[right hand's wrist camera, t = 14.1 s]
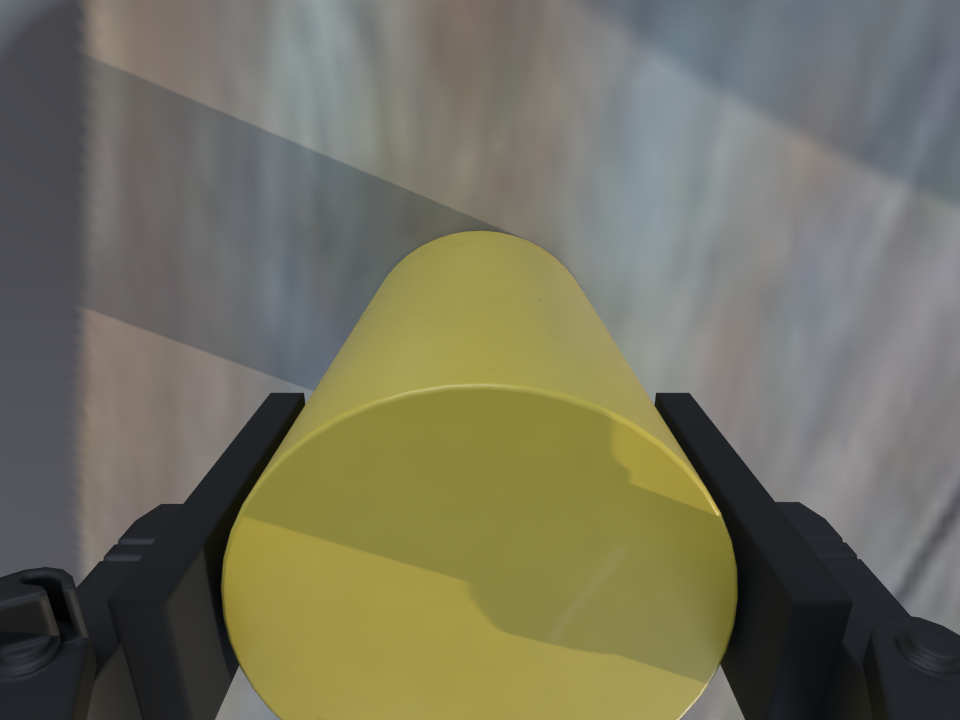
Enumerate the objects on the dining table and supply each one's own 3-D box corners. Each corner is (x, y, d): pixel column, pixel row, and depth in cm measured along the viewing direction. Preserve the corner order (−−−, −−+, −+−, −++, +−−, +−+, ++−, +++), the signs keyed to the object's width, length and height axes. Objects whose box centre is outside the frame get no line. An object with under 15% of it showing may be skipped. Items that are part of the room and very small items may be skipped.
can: (335, 262, 20) (129, 454, 8) (570, 204, 19) (711, 323, 7) (402, 464, 22) (319, 827, 11) (610, 419, 22) (760, 755, 10)
